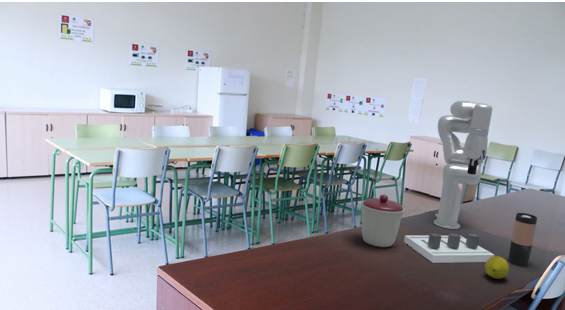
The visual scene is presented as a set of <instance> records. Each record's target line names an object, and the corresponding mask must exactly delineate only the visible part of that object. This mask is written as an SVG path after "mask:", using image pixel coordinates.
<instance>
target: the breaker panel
mask: <svg viewBox="0 0 565 310" xmlns="http://www.w3.org/2000/svg"><path fill="white" fill-rule="evenodd" d="M440 236H441V242H440V248H431V247H429V246H428V240H429V235H404V238H403V239H404V241H403V243H405V244H406V245H407V244H408V247H410V248H411V247H412V248H411V249H413V250H415V251H416V252H417V253H418V254H419V255H421V256H422V257H424V258H425V259H427V260H428V261H430V262H431V263H432V264H436V263H437V264H439V263H440V264H442V263H449V264H450V263H454V264H456V263H486V262H487V260H488V259H490V258H491V257H494V256H495V255H496V254H494V253H492V252H490V251H489V250H487V249H485V248H483V247H481V246H480V245H478V248H469V247H468V246H466V240H467V237H464V236H462V235H460V236H461V237H460V243H459V248H450V247H449V246H447V241H448V235H440Z"/></svg>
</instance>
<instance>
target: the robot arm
mask: <svg viewBox="0 0 565 310" xmlns="http://www.w3.org/2000/svg"><path fill="white" fill-rule="evenodd" d="M449 110H450V113H451V115H449V114H448V115H442V116H441V117H440V118H439V119H438V122H437V133H438V135H439V138H440V141H441V143H442V151H443V157H444V158H443V159H444V162H445V165H444V167H442V185H441V187H442V188H441V193H440V194H441V195H440V198H439V199H440V200H439V205H438V213H435V214H434V216H435V217H436V218H435V219H434V220H433V224H434V225H436V226H438V227H440V228H443V229H448V230H459V229H461V225H460V223H458V220H459V214H460V210H461V203H462V196H463V191H462V189H461V187H460V186H459V185H470V186H475V185H478V184H479V183H480V182H481V178H482V176H481V175H482V174H481V167H480V166H481V165H480V164H483V163H484V160H485V159H486V158H487V152H488V144H489V143H488V142H489V141H488V135H489V131H490V124H491V119H492V113H493V106H492V105H489V104H487V103H482V102H476V101H475V102H474V101H468V100H457V101H455V102H453V103H452V104H451V106H450V109H449ZM454 133H462V134H467V137H466V139H465V142H464V145H463V147H462V146H461V141H460V138H458V136H457V135H456V134H454Z"/></svg>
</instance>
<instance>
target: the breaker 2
mask: <svg viewBox="0 0 565 310" xmlns="http://www.w3.org/2000/svg"><path fill="white" fill-rule="evenodd" d="M447 236H448V241H447V246H449V247H450V248H459V243H460V237H461V236H462V235H459V234H457V233H448V235H447Z"/></svg>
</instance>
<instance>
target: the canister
mask: <svg viewBox="0 0 565 310" xmlns="http://www.w3.org/2000/svg"><path fill="white" fill-rule="evenodd" d="M360 205H361V208H362V209H361V235H362V240H363V241H364V242H365V243H366V244H368V245H370V246H373V247H377V248H389V247H392V246H393V245H394V243H396V242H395V241H396V240H397V236H398V232H399V229H400V225H401V220H402V218H403V217H402V216H403V213H405V212H406V211H405V210H406V209H405V206H402V204H400V203H399V202H397V201H394V200H390V199H389V196H388V195H386V194H381V195H379V198H377V197H376V198H375V197H374V198H373V197H372V198H367V199H364V200H362V201H360Z"/></svg>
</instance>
